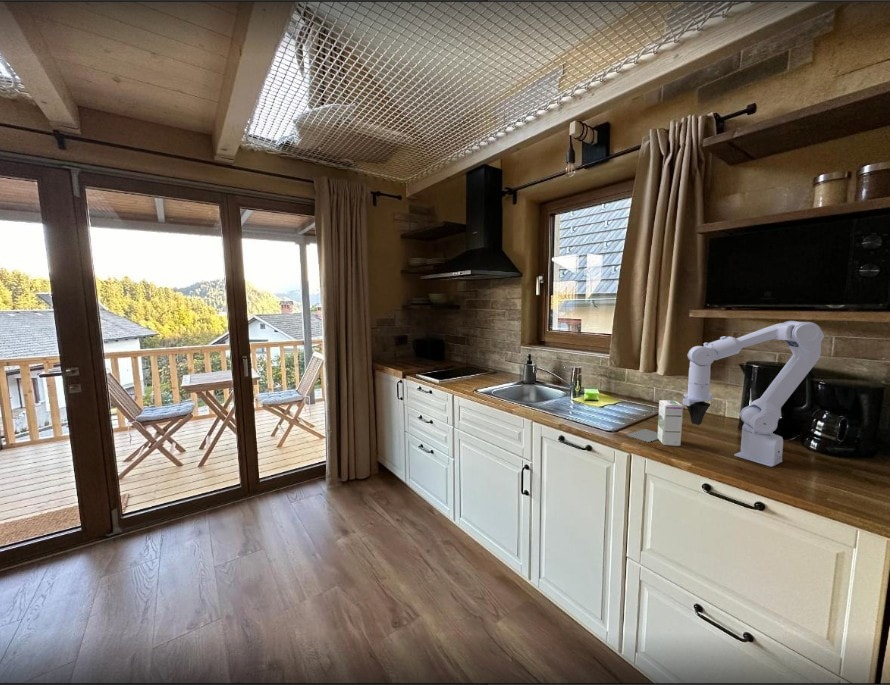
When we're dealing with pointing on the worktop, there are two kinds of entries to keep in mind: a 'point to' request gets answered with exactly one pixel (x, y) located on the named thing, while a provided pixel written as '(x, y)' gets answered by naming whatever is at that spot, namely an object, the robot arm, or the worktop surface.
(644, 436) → the mat
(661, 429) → the syrup box
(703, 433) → the worktop surface
